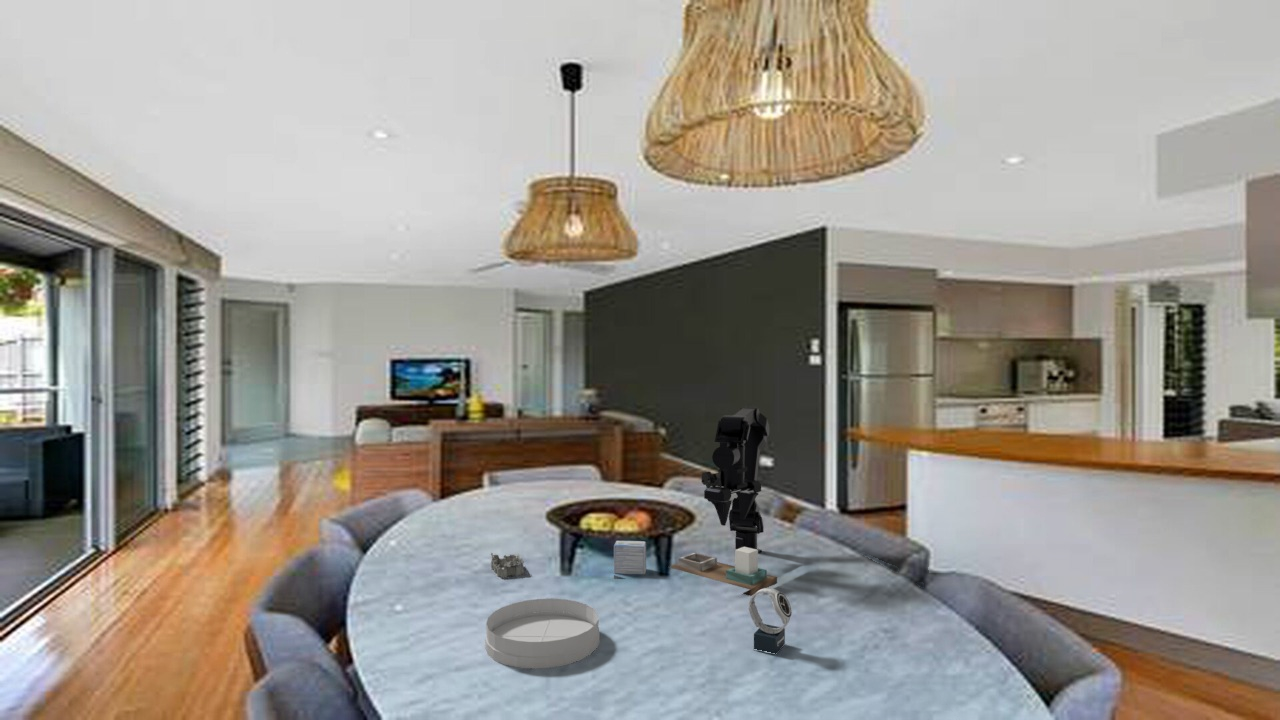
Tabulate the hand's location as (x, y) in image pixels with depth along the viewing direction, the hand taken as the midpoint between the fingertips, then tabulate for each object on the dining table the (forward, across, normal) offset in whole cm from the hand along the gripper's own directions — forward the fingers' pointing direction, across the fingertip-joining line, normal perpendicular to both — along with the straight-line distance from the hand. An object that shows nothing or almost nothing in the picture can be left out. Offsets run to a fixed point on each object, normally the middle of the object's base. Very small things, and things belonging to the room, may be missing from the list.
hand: (733, 522), depth 178 cm
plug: (+10, +9, +10) cm, 17 cm away
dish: (+13, +64, -1) cm, 65 cm away
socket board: (+12, +9, +2) cm, 15 cm away
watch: (+12, +36, +33) cm, 50 cm away
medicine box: (+12, +24, -15) cm, 31 cm away
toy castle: (+12, +42, -42) cm, 61 cm away
